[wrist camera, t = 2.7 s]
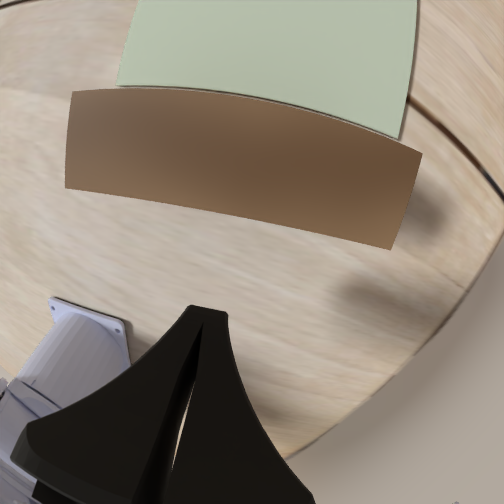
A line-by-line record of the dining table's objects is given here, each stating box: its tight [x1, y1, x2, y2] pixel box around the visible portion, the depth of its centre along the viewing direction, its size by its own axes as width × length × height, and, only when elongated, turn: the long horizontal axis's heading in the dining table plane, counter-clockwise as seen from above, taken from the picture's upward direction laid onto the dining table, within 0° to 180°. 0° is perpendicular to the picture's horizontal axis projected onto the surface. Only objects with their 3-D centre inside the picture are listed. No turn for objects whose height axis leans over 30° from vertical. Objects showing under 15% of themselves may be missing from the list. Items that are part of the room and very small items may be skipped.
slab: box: [65, 88, 423, 250], centre depth 10 cm, size 3×10×8 cm, turn 79°
